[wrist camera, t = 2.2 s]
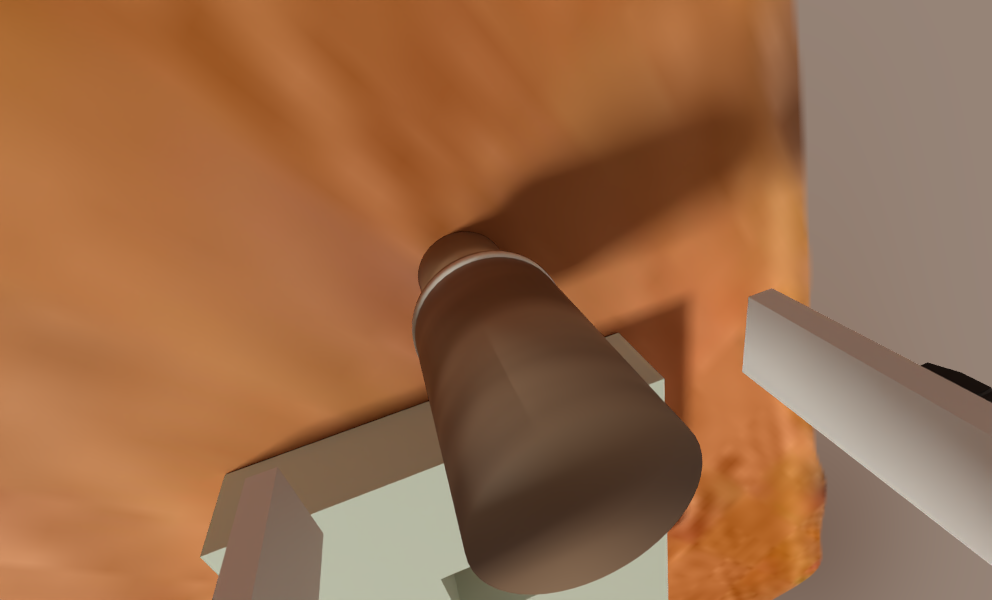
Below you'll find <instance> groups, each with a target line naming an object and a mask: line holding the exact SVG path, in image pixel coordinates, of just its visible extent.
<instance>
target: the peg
mask: <svg viewBox="0 0 992 600" xmlns="http://www.w3.org/2000/svg"><path fill="white" fill-rule="evenodd" d="M418 280H419V285H420V289H421V294H420V296H419V298H418V301H417V304H416V307H415V310H414V314H413V319H412V335H413V341H414V345H415V349H416V352H417V355H418V357H419V360H420V364H421V368H422V373H423V377H424V381H425V385H426V390H427V394H428V398H429V402H430V407H431V411H432V415H433V419H434V424H435V428H436V432H437V437H438V441H439V445H440V449H441V454H442V458H443V462H444V466H445V471H446V475H447V479H448V483H449V488H450V492H451V496H452V500H453V505H454V509H455V513H456V518H457V522H458V526H459V530H460V535H461V539H462V543H463V547H464V552H465V555H466V558H467V562H468V564H469V566H470V567H471V569H472V571H473V572H474V573H475V574H476V575H477V576H478V578H479V579H480V580H482V581H483V582H485V583H486V584H488V585H489V586H492V587H494V588H496V589H498V590H501V591H505V592H509V593H515V594H524V595H537V594H549V593H555V592H561V591H565V590H569V589H573V588H576V587H579V586H583V585H586V584H588V583H591V582H593V581H596V580H598V579H601V578H603V577H605V576H607V575H609V574H611V573H613V572H615V571H617V570H619V569H620V568H622V567H624V566H626V565H627V564H629V563H630V562H632V561H633V560H635V559H636V558H638V557H639V556H641V555H642V554H643V553H645V552H646V551H647V550H649V549H650V548H651V547H652V546H653V545H654V544H656V543H657V542H658V541H659V540H660V539H661V538H662V537H663V536H664V535H665V534H666V533H667V532H668V531H669V530H670V529H671V528H672V527H673V526H674V524H675V523H676V522H677V521H678V520H679V519H680V517H681V516H682V514H683V513H684V511H685V510H686V509H687V507H688V505H689V503H690V502H691V500H692V498H693V496H694V494H695V491H696V489H697V487H698V484H699V480H700V477H701V471H702V453H701V449H700V445H699V443H698V441H697V439H696V437H695V435H694V434H693V433H692V432H691V430H690V429H689V428H688V427H687V426H686V425H685V424H684V422H683V421H682V420H681V419H680V418H679V417H678V416H677V415H676V414H675V413H674V412H673V411H672V410H671V408H670V407H669V406H668V405H667V404H666V403H665V402H664V401H663V400H662V399H661V398H660V397H659V396H658V394H657V393H656V392H655V391H654V390H653V389H652V388H651V387H650V386H649V385H648V384H647V383H646V382H645V380H644V379H643V378H642V377H641V376H640V375H639V374H638V373H637V372H636V371H635V370H634V369H633V368H632V366H631V365H630V364H629V363H628V362H627V361H626V360H625V359H624V358H623V357H622V356H621V355H620V354H619V352H618V351H617V350H616V349H615V348H614V347H613V346H612V345H611V344H610V343H609V342H608V341H607V340H606V338H605V337H604V336H603V335H602V334H601V333H600V332H599V331H598V330H597V329H596V328H595V327H594V326H593V324H592V323H591V322H590V321H589V320H588V319H587V318H586V317H585V316H584V315H583V314H582V313H581V312H580V310H579V309H578V308H577V307H576V306H575V305H574V304H573V303H572V302H571V301H570V300H569V299H568V298H567V296H566V295H565V294H564V293H563V292H562V291H561V290H560V289H559V288H558V287H557V286H556V284H555V283H554V281H553V280H552V278H551V277H550V276H549V275H548V274H547V273H546V272H545V271H544V269H542V268H541V267H540V266H539V265H538V264H537V263H535V262H534V261H532V260H530V259H529V258H526V257H524V256H522V255H519V254H516V253H512V252H508V251H501V250H500V249H499V248H498V247H497V246H496V244H495V243H494V242H493V241H491V240H490V239H489V238H487V237H485V236H483V235H481V234H478V233H474V232H457V233H453V234H449V235H447V236H445V237H443V238H441V239H439V240H438V241H436V242H435V243H434V244H433V245H432V246H431V247H430V248H429V249H428V250H427V251H426V253H425V254H424V256H423V258H422V260H421V263H420V266H419V271H418Z"/></svg>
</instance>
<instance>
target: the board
mask: <svg viewBox="0 0 992 600" xmlns="http://www.w3.org/2000/svg"><path fill="white" fill-rule="evenodd" d="M605 338H606V340H607V341H608V342H609V343H610V344H611V345H612V346H613V347H614V348H615V349H616V350H617V351H618V352H619V354H620V355H621V356H622V357H623V358H624V359H625V360H626V361H627V362H628V363H629V364H630V365H631V366H632V368H633V369H634V370H635V371H636V372H637V373H638V374H639V375H640V376H641V377H642V378H643V379H644V380H645V382H646V383H647V384H648V385H649V386H650V387H651V388H652V389H653V390H654V391H655V392H656V393H657V394H658V396H659V397H660V398H661V399H662V400H663V401H664V402H665V383H664V378H663V377H662V376H661V375H660V374H659V373H658V372H657V371H656V370H655V369H654V368H653V367H652V366H651V365H650V364H649V363H648V362H647V361H646V360H645V359H644V358H643V357H642V356H641V355H640V354H639V353H638V352H637V351H636V350H635V349H634V348H633V347H632V346H631V345H630V344H629V343H628V342H627V341H626V340H625V339H624V338H623V337H622V336H621V335H620V334H619V333H616V334H613V335H610V336H608V337H605ZM276 467H278V468H279V470H280V471H281V472H282V474H283V475H284V477H285V478H286V480H287V481H288V483H289V484H290V486H291V487H292V488H293V490H294V491H295V493H296V494H297V496H298V497H299V499H300V500H301V502H302V503H303V504H304V506H305V507H306V509H307V510H308V512H309V513H310V515H311V516H312V518H313V519H314V521H315V522H316V523H317V525H318V526H319V528H320V529H321V531H322V532H323V548H322V562H321V576H320V590H319V600H668V560H667V533H666V534H665V535H664V536H663V537H662V538H661V539H660V540H659V541H658V542H657V543H656V544H654V545H653V546H652V547H651V548H650V549H649V550H647V551H646V552H645V553H643V554H642V555H641V556H639V557H638V558H636V559H635V560H633V561H632V562H630V563H629V564H627V565H626V566H624V567H622V568H620V569H619V570H617V571H615V572H613V573H611V574H609V575H607V576H605V577H603V578H601V579H598V580H596V581H593V582H591V583H588V584H586V585H583V586H579V587H576V588H573V589H569V590H565V591H561V592H555V593H549V594H537V595H524V594H515V593H509V592H505V591H501V590H498V589H496V588H494V587H492V586H489V585H488V584H486V583H485V582H483V581H482V580H480V579H479V578H478V576H477V575H476V574H475V573H474V572H473V571H472V569H471V567H470V566H469V564H468V562H467V558H466V555H465V552H464V547H463V543H462V539H461V535H460V530H459V526H458V522H457V518H456V513H455V509H454V505H453V500H452V496H451V492H450V488H449V483H448V479H447V475H446V471H445V466H444V462H443V458H442V454H441V449H440V445H439V441H438V437H437V432H436V428H435V424H434V419H433V415H432V411H431V407H430V402H429V401H428V402H425V403H422V404H420V405H417V406H414V407H411V408H409V409H406V410H403V411H400V412H398V413H395V414H392V415H389V416H386V417H384V418H381V419H378V420H375V421H373V422H370V423H367V424H364V425H362V426H359V427H356V428H353V429H351V430H348V431H345V432H342V433H339V434H337V435H334V436H331V437H328V438H326V439H323V440H320V441H317V442H315V443H312V444H309V445H306V446H303V447H301V448H298V449H295V450H292V451H290V452H287V453H284V454H281V455H279V456H276V457H273V458H270V459H268V460H265V461H262V462H259V463H256V464H254V465H251V466H248V467H245V468H243V469H240V470H237V471H234V472H232V473H229V474H226V475H225V476H224V480H223V483H222V486H221V490H220V493H219V496H218V500H217V503H216V506H215V509H214V513H213V516H212V519H211V523H210V526H209V529H208V532H207V536H206V539H205V542H204V546H203V549H202V552H201V556H200V557H201V558H202V559H203V560H204V561H205V562H206V563H207V564H208V565H209V566H210V567H211V568H212V569H213V570H214V571H215V572H216V573H217V574H218V575H219V573H220V569H221V566H222V562H223V558H224V555H225V551H226V547H227V544H228V540H229V536H230V533H231V529H232V525H233V522H234V518H235V514H236V511H237V507H238V504H239V500H240V496H241V493H242V489H243V485H244V482H245V478H248V477H251V476H253V475H256V474H259V473H262V472H265V471H267V470H270V469H273V468H276Z"/></svg>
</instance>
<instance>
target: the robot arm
mask: <svg viewBox="0 0 992 600" xmlns="http://www.w3.org/2000/svg"><path fill="white" fill-rule="evenodd" d="M742 372H743V373H744V374H746V375H747V376H748V377H750V378H751V379H752V380H753V381H755V382H756V383H757V384H759V385H760V386H761V387H762V388H764V389H765V390H766V391H768V392H769V393H770V394H771V395H773V396H774V397H775V398H777V399H778V400H779V401H780V402H782V403H783V404H784V405H786V406H787V407H788V408H789V409H791V410H792V411H793V412H795V413H796V414H797V415H798V416H800V417H801V418H802V419H804V420H805V421H806V422H807V423H809V424H810V425H811V426H813V427H814V428H815V429H816V430H818V431H819V432H820V433H822V434H823V435H824V436H825V437H827V438H828V439H829V440H831V441H832V442H833V443H835V444H836V445H837V446H838V447H840V448H841V449H842V450H844V451H845V452H846V453H847V454H849V455H850V456H851V457H853V458H854V459H855V460H856V461H858V462H859V463H860V464H862V465H863V466H864V467H865V468H867V469H868V470H869V471H871V472H872V473H873V474H874V475H876V476H877V477H878V478H880V479H881V480H882V481H883V482H885V483H886V484H887V485H889V486H890V487H891V488H892V489H894V490H895V491H896V492H898V493H899V494H900V495H902V496H903V497H904V498H905V499H907V500H908V501H909V502H910V503H912V504H913V505H914V506H916V507H917V508H918V509H919V510H921V511H922V512H923V513H925V514H926V515H927V516H928V517H930V518H931V519H932V520H934V521H935V522H936V523H938V524H939V525H940V526H942V527H943V528H944V529H945V530H947V531H948V532H949V533H950V534H952V535H953V536H954V537H956V538H957V539H958V540H959V541H961V542H962V543H963V544H965V545H966V546H967V547H968V548H970V549H971V550H972V551H973V552H975V553H976V554H977V555H979V556H980V557H981V558H983V559H984V560H985V561H986V562H988V563H989V564H990V565H992V388H991V387H989V386H987V385H985V384H983V383H981V382H979V381H977V380H975V379H973V378H971V377H969V376H967V375H965V374H963V373H960V372H957V371H954V370H951V369H947V368H944V367H941V366H937V365H934V364H931V363H925V364H923V365H921V366H920V365H918V364H916V363H914V362H912V361H910V360H909V359H907V358H905V357H903V356H901V355H899V354H897V353H895V352H893V351H891V350H889V349H887V348H885V347H884V346H882V345H880V344H878V343H876V342H874V341H872V340H870V339H868V338H866V337H864V336H862V335H861V334H859V333H857V332H855V331H853V330H851V329H849V328H847V327H845V326H843V325H841V324H839V323H837V322H836V321H834V320H832V319H830V318H828V317H826V316H824V315H822V314H820V313H818V312H816V311H814V310H812V309H811V308H809V307H807V306H805V305H803V304H801V303H799V302H797V301H795V300H793V299H791V298H789V297H788V296H786V295H784V294H782V293H780V292H778V291H776V290H774V289H769V290H766V291H764V292H761V293H758V294H755V295H752V296H750V297H749V298H748V310H747V322H746V334H745V346H744V358H743V370H742ZM322 548H323V532H322V531H321V529H320V528H319V526H318V525H317V523H316V522H315V521H314V519H313V518H312V516H311V515H310V513H309V512H308V510H307V509H306V507H305V506H304V504H303V503H302V502H301V500H300V499H299V497H298V496H297V494H296V493H295V491H294V490H293V488H292V487H291V486H290V484H289V483H288V481H287V480H286V478H285V477H284V475H283V474H282V472H281V471H280V470H279V468H278V467H276V468H273V469H270V470H267V471H265V472H262V473H259V474H256V475H253V476H251V477H248V478H245V482H244V485H243V489H242V493H241V496H240V500H239V504H238V507H237V511H236V514H235V518H234V522H233V525H232V529H231V533H230V536H229V540H228V544H227V547H226V551H225V555H224V558H223V562H222V566H221V569H220V573H219V577H218V580H217V584H216V588H215V591H214V595H213V599H212V600H319V590H320V576H321V562H322Z"/></svg>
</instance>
